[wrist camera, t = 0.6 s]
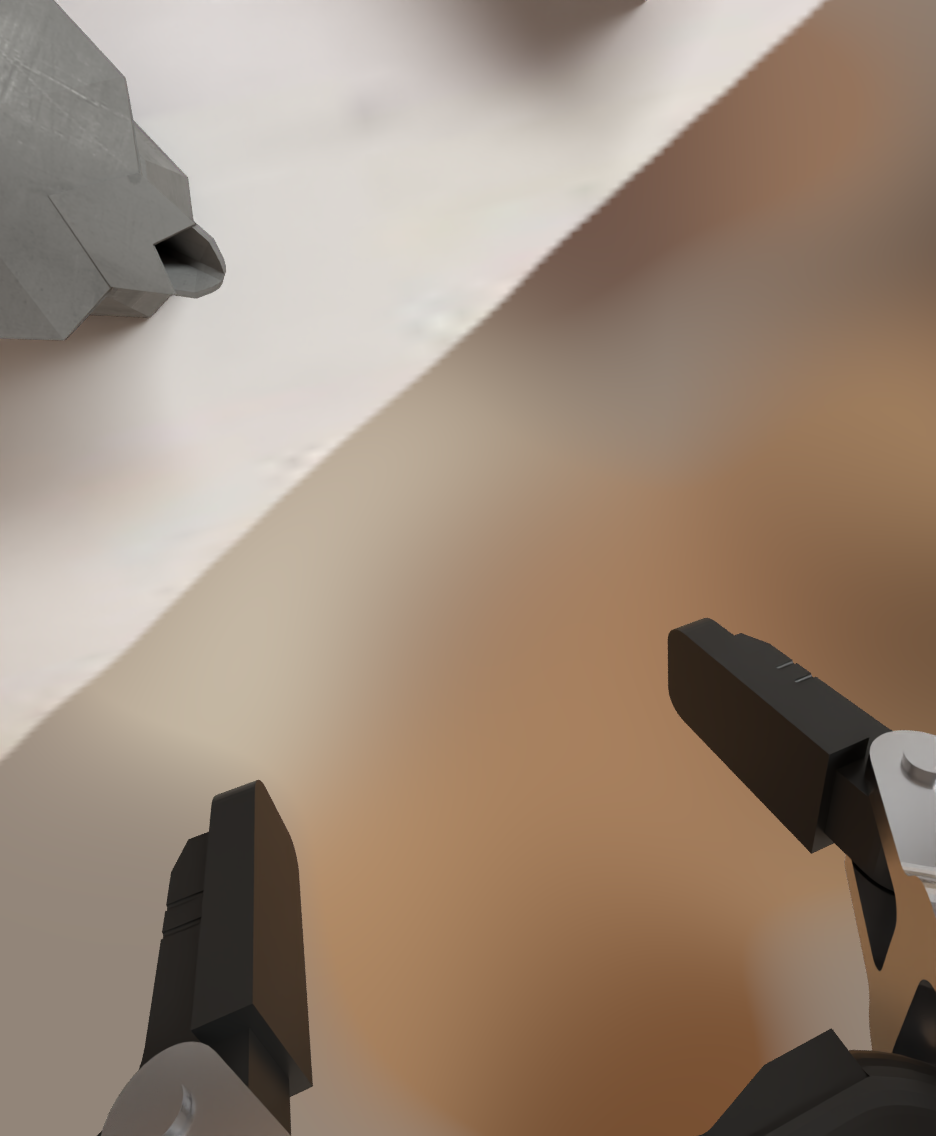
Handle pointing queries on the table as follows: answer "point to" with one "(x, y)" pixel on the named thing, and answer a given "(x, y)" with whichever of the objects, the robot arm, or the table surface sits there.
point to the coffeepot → (84, 188)
